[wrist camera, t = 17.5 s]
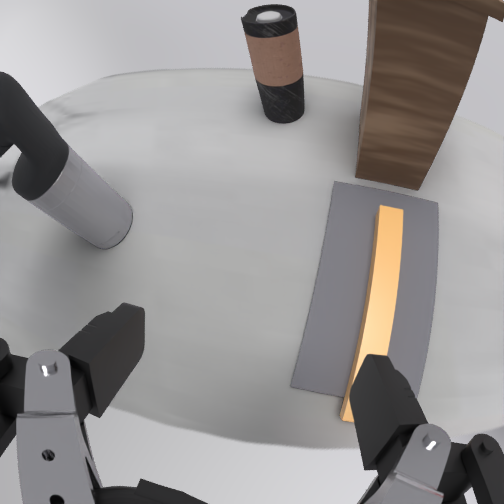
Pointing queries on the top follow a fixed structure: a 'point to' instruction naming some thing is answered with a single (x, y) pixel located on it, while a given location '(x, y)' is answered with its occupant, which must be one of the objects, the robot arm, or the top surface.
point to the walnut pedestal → (415, 82)
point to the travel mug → (276, 60)
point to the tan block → (378, 294)
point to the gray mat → (355, 288)
